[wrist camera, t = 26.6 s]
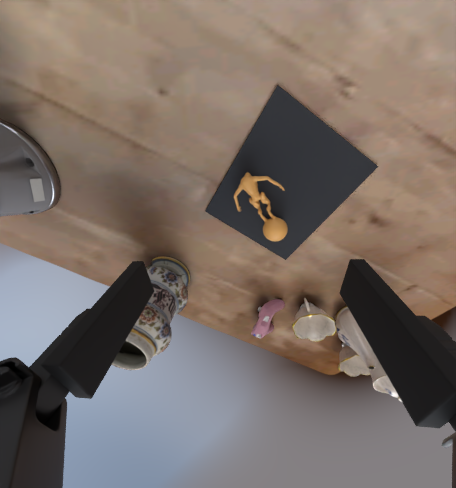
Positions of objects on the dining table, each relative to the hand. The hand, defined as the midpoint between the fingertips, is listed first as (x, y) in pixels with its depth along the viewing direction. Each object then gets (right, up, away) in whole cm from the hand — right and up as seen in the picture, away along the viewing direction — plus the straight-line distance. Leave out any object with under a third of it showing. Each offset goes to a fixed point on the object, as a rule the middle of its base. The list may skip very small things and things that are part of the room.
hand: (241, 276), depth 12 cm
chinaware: (+26, -16, +31) cm, 44 cm away
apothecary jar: (-14, -5, +30) cm, 33 cm away
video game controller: (+8, -14, +32) cm, 36 cm away
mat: (+8, +11, +18) cm, 22 cm away
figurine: (+7, +2, +18) cm, 20 cm away
